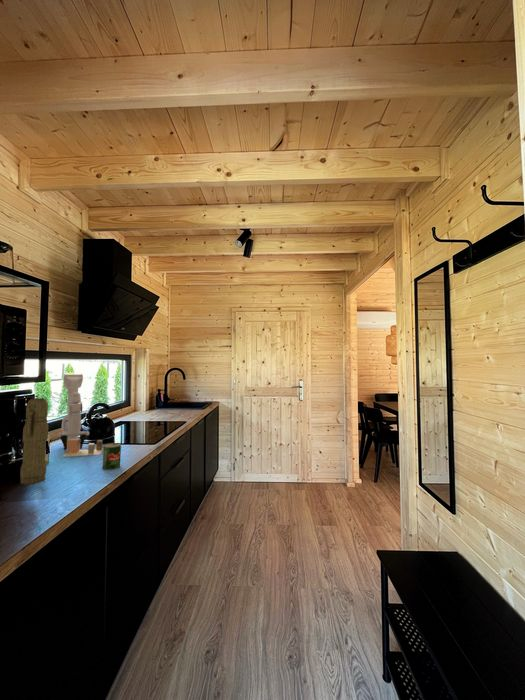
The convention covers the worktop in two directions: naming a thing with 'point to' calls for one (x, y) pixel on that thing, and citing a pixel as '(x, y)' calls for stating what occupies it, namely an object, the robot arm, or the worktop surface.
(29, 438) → the tan tall block
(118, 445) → the canned tomato
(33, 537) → the worktop surface
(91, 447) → the grey post
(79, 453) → the board
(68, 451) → the tan wooden block
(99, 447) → the walnut post
